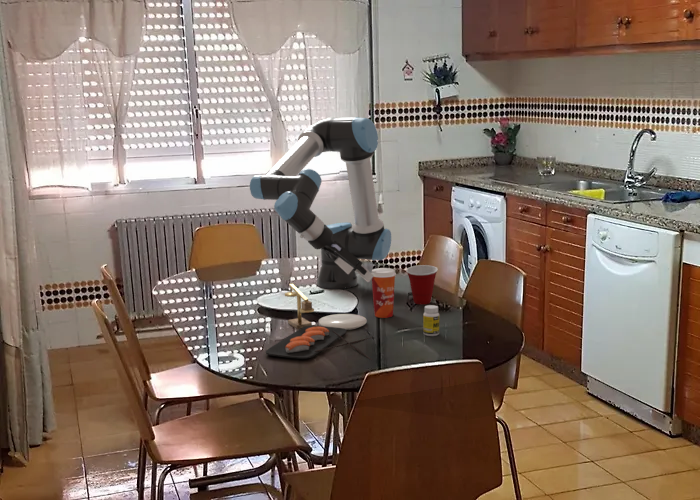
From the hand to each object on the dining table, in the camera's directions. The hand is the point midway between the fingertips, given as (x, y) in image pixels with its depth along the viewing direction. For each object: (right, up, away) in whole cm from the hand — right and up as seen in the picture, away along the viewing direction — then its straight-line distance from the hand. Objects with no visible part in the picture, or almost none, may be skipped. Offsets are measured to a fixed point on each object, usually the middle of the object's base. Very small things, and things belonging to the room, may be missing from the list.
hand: (360, 275), depth 253 cm
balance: (-19, -16, -2) cm, 25 cm away
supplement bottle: (+21, -17, -14) cm, 31 cm away
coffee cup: (+8, -13, +7) cm, 17 cm away
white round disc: (-6, -15, -2) cm, 16 cm away
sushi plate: (-8, -21, -24) cm, 33 cm away
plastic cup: (+21, -10, +22) cm, 32 cm away
